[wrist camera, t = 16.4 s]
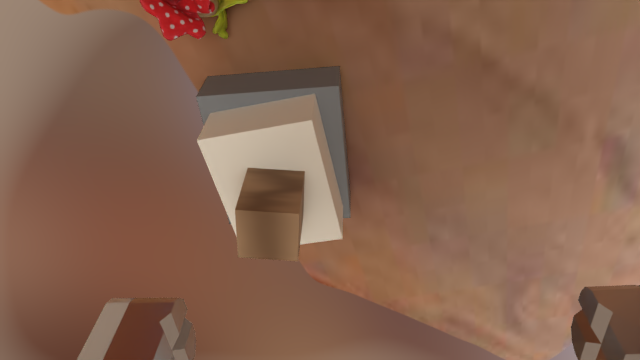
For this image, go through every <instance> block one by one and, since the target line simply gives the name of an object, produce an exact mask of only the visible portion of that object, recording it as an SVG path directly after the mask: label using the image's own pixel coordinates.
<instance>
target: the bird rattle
mask: <svg viewBox="0 0 640 360" xmlns="http://www.w3.org/2000/svg"><path fill="white" fill-rule="evenodd" d="M247 1H248V0H140V3H141V5H142V7H143V9H144V10H145V11H147V12H148V13H150V14H151V15H153V16H155V17H156V18H157V19H158V21H159V24H160V28H161V31H162V33H163V36H164V37H165V38H166V39H167V40H169V41H172V40H174V39H176V38H178V37H180V36H182V35H185V34H190V35H191V36H193V37H195V38H197V39H201V38H202V37H203V36H204V35H205V33H206V31H205V25H204V22H203V21H202V19H201V18H200V17H214V16H218V19H217V21H216V23H215V25H214V27H213V31H212V32H213V33H215V34H217V33H218V35H219V36H220V37H222V38H224V39H227V38H228V33H227V32H226V29H227V13H226V10H225V9H226V8H229V7H231V6H233V5H235V4H244V3H246V2H247Z"/></svg>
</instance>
